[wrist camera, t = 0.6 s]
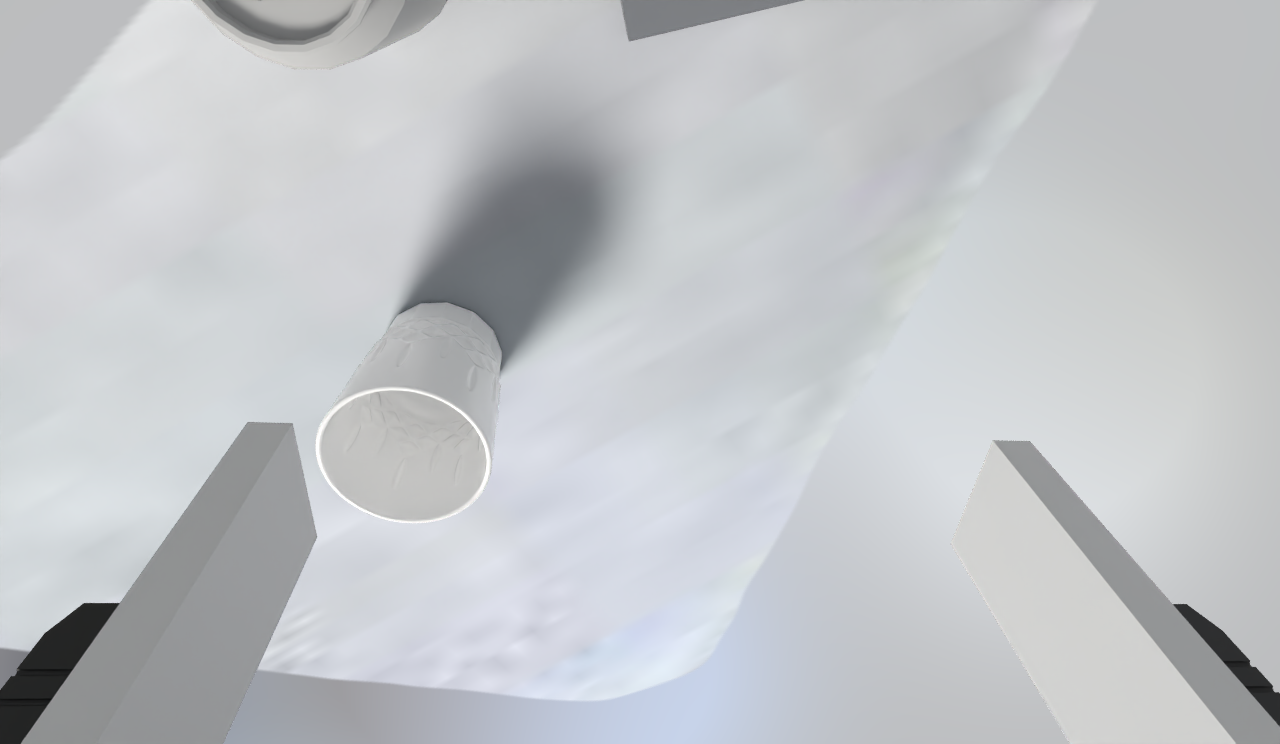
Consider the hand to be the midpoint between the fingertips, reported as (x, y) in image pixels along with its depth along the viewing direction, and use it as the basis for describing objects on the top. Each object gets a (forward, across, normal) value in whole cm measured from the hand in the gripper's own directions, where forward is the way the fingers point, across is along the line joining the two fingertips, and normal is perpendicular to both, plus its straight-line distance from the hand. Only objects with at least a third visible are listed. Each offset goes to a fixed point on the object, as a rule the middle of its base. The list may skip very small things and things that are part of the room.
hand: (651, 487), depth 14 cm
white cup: (+26, -9, -12) cm, 30 cm away
